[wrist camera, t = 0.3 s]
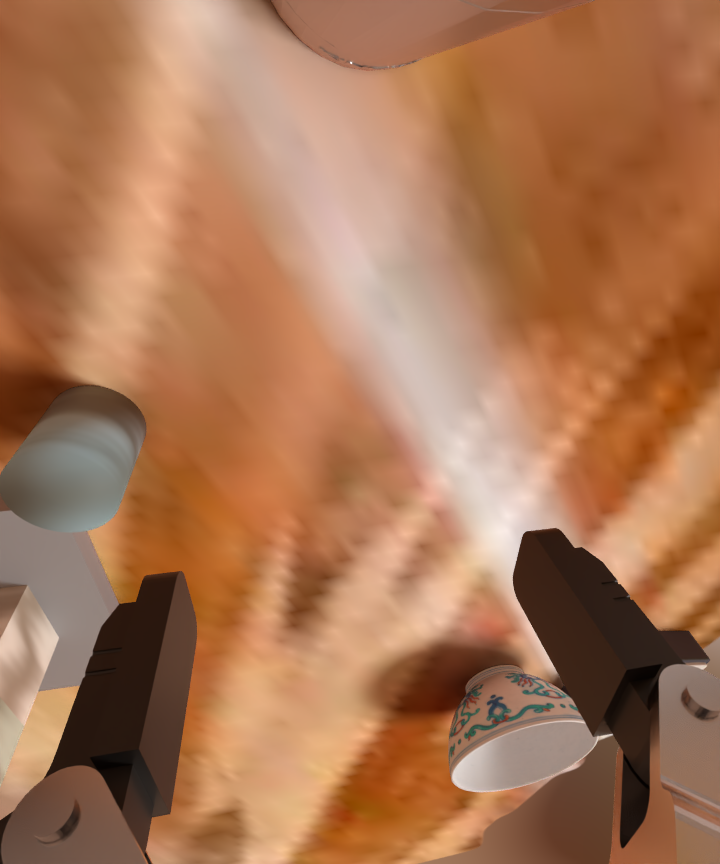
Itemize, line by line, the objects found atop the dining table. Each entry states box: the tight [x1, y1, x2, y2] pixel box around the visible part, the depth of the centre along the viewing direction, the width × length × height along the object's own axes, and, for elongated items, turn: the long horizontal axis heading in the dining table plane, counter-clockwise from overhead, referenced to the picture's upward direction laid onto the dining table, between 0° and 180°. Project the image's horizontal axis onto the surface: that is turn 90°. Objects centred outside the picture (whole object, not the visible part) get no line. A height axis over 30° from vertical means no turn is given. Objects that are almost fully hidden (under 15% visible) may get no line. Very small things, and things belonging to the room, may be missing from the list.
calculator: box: [561, 631, 710, 699], centre depth 54 cm, size 11×4×15 cm
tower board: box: [0, 495, 119, 691], centre depth 32 cm, size 19×14×2 cm
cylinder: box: [0, 386, 146, 533], centre depth 24 cm, size 5×5×6 cm
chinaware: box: [449, 665, 599, 792], centre depth 49 cm, size 15×15×8 cm
